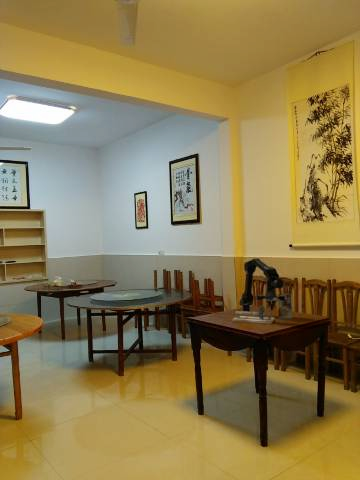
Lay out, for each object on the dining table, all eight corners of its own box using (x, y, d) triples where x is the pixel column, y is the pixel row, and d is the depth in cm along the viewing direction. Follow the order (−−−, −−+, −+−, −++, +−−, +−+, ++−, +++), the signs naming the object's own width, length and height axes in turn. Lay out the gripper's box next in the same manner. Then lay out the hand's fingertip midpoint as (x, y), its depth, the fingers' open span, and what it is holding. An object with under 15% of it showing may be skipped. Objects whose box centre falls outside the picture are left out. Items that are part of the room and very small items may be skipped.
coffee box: (292, 316, 273) (291, 293, 273) (292, 318, 267) (291, 295, 267) (279, 316, 276) (278, 293, 276) (278, 318, 270) (277, 295, 270)
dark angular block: (261, 316, 266) (260, 305, 266) (264, 317, 265) (263, 305, 265) (259, 318, 262) (259, 306, 261) (262, 318, 261) (262, 306, 261)
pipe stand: (237, 317, 277) (236, 309, 277) (274, 319, 266) (273, 311, 266) (232, 321, 266) (231, 312, 266) (270, 323, 255) (270, 314, 255)
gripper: (254, 288, 257) (255, 312, 257) (283, 289, 249) (284, 313, 249) (258, 286, 267) (259, 309, 267) (286, 286, 259) (287, 310, 259)
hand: (271, 310), depth 260 cm, fingers closed
